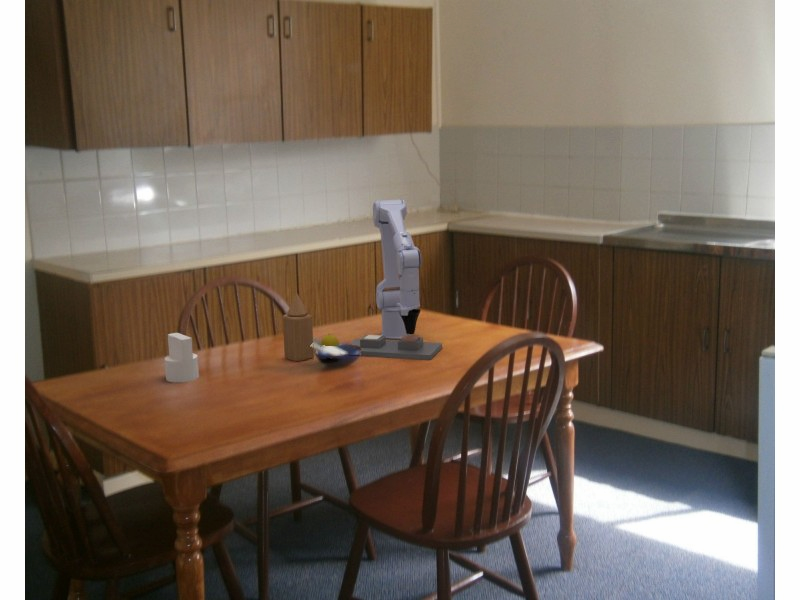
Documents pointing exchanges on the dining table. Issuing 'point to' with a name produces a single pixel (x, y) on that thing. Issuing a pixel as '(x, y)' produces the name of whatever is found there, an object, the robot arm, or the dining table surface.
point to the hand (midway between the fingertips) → (410, 333)
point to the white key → (373, 337)
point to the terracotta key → (410, 338)
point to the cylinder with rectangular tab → (181, 359)
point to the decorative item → (297, 332)
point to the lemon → (330, 340)
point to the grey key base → (397, 348)
